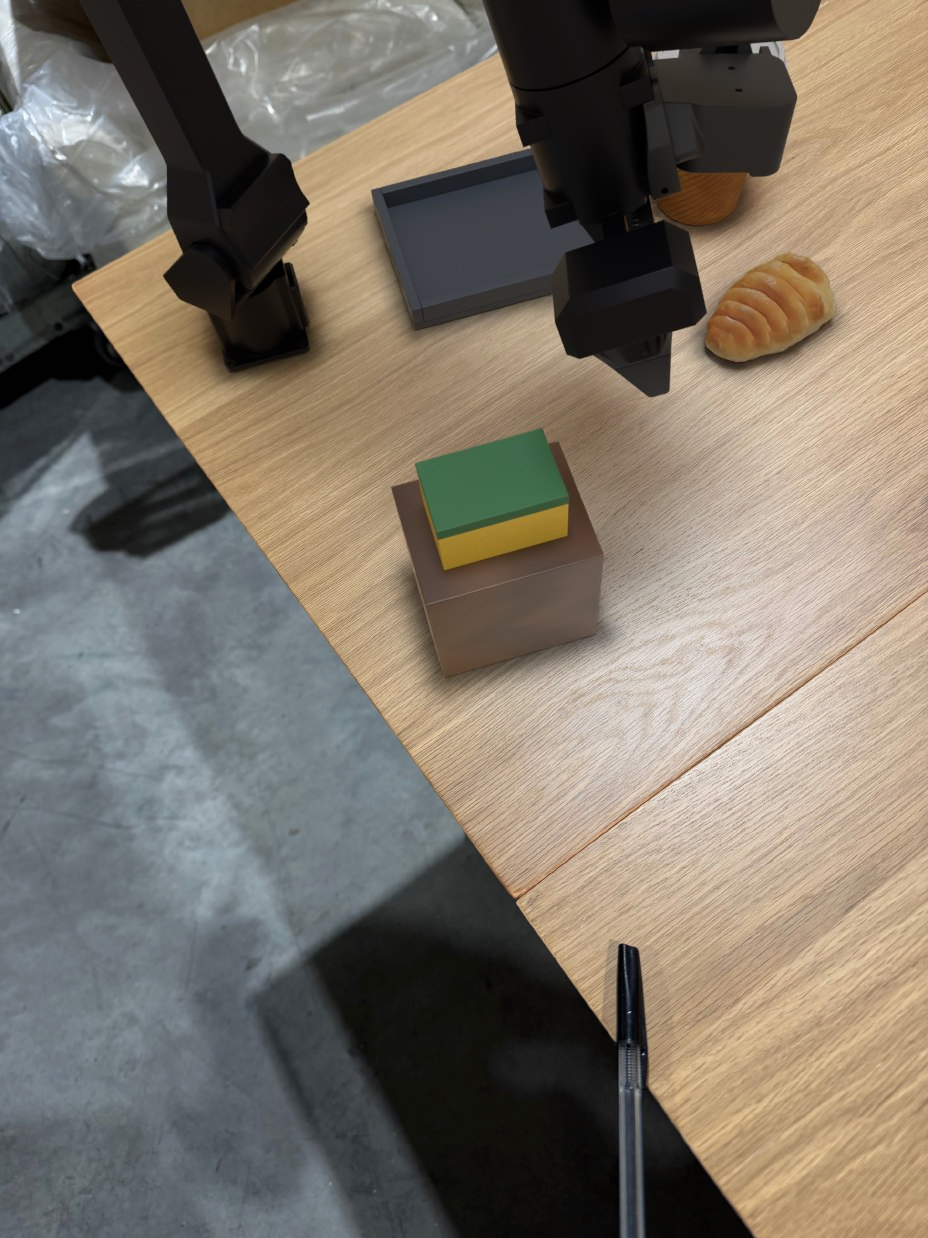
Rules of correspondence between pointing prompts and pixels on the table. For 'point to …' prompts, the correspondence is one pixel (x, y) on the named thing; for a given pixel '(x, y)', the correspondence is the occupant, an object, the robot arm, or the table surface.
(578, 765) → the table surface
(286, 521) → the table surface
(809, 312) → the pastry
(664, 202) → the disposable coffee cup
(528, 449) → the sponge
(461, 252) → the tray
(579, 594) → the cube
